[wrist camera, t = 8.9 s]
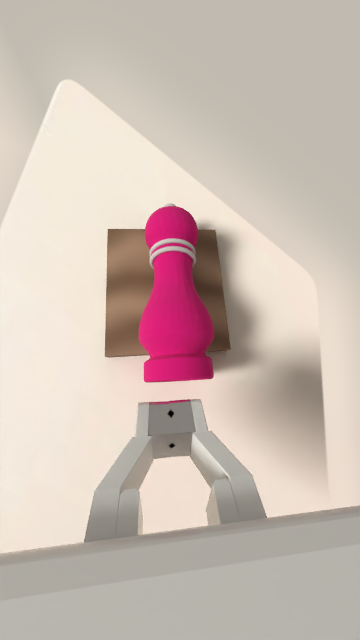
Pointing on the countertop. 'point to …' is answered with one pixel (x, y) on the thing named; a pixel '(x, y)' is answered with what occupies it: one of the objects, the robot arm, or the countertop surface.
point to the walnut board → (137, 284)
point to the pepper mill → (174, 302)
